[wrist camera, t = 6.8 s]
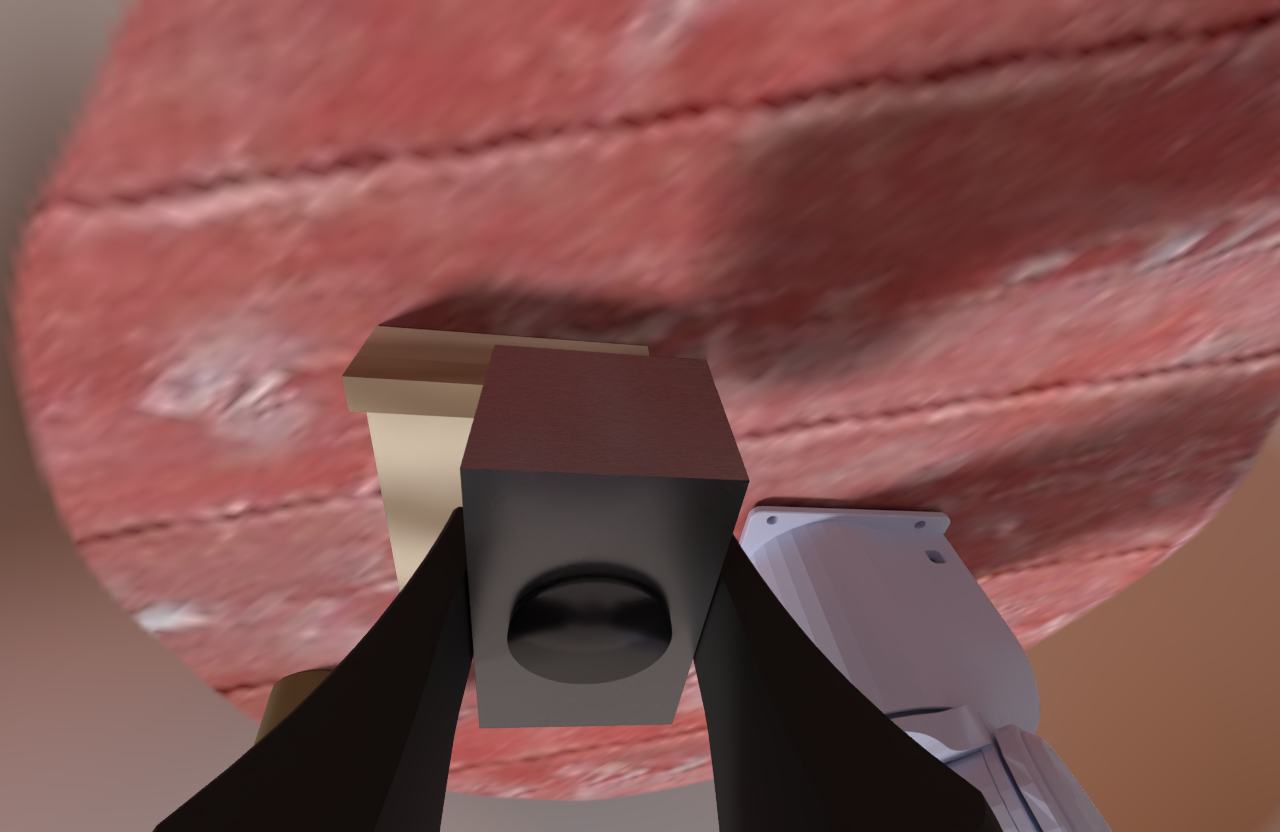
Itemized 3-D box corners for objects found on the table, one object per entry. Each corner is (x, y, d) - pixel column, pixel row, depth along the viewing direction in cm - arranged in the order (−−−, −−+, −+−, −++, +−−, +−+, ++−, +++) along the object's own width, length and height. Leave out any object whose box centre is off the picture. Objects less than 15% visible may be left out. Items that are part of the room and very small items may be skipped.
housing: (655, 589, 17) (673, 737, 13) (500, 587, 16) (477, 741, 13) (706, 359, 12) (754, 493, 9) (494, 344, 12) (456, 481, 8)
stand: (376, 325, 18) (341, 376, 16) (647, 346, 19) (657, 395, 17) (415, 574, 25) (395, 637, 23) (612, 577, 26) (616, 637, 24)
